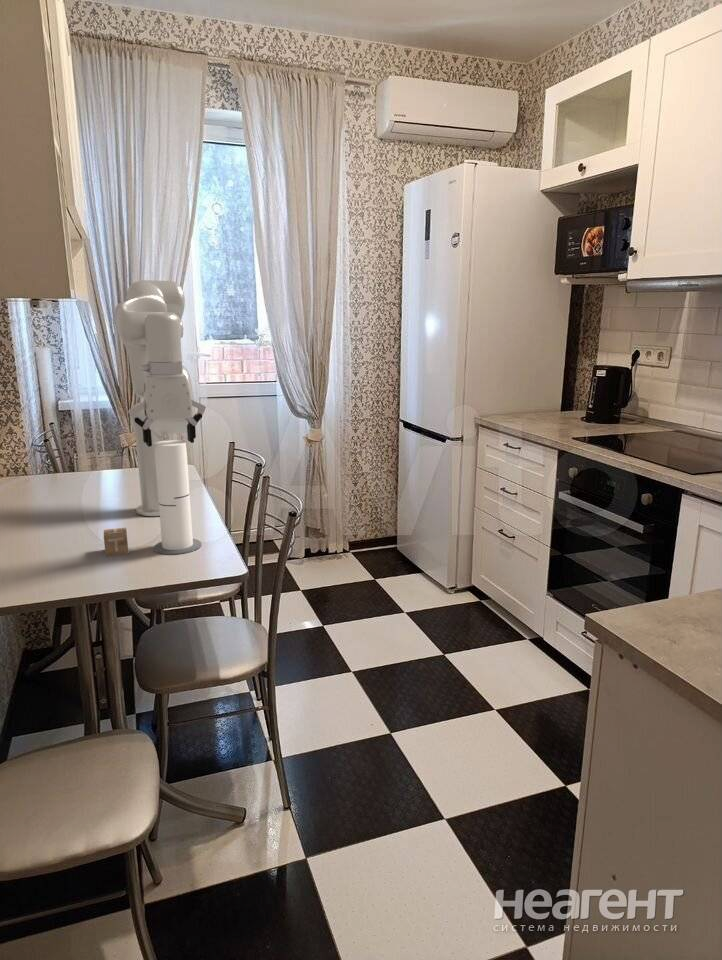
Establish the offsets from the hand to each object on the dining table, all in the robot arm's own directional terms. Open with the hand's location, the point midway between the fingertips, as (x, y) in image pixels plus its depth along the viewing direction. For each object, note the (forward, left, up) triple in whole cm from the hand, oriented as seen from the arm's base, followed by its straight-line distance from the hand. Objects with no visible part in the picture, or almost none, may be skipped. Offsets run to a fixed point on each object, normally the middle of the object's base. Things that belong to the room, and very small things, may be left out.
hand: (170, 443), depth 149 cm
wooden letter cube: (+5, -13, -25) cm, 29 cm away
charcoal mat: (0, 0, -25) cm, 25 cm away
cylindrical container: (0, 0, -25) cm, 25 cm away
